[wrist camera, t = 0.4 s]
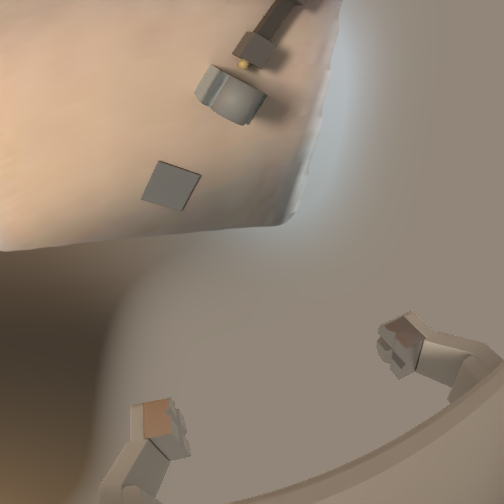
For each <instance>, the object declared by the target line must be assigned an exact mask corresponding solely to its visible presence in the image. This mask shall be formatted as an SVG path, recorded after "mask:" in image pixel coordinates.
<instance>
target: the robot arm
mask: <svg viewBox="0 0 504 504" xmlns="http://www.w3.org/2000/svg"><path fill="white" fill-rule="evenodd" d="M378 333H379V334H380V338H379V339H378V341H377V350H378V353H379V355H380V357H381V358H382V360H383V361H384V362H386V363H389V364H390V370H391V371H392V372H393V373H394V374H395V376H396V377H397V378H398V379H401V378H403V377H405V376H407V375H409V374H411V373H412V372H414V371H416V372H417V373H419V374H421V375H424V376H426V377H429V378H431V379H433V380H435V381H438V382H440V383H442V384H445V385H447V386H449V387H452V389H451V391H450V393H449V395H448V398H447V400H448V401H449V402H450V403H451V404H449V405H448V406H447V407H445V408H444V409H442V410H441V411H439V412H438V413H436V414H435V415H433V416H432V417H430V418H429V419H427V420H426V421H424V422H423V423H421V424H419V425H418V426H416V427H415V428H413V429H411V430H410V431H408V432H406V433H405V434H403V435H401V436H399V437H398V438H396V439H394V440H393V441H390V442H389V443H387V444H385V445H383V446H381V447H379V448H377V449H376V450H373V451H372V452H370V453H368V454H366V455H363V456H361V457H359V458H358V459H355V460H353V461H351V462H349V463H346V464H344V465H342V466H340V467H337V468H335V469H333V470H331V471H328V472H326V473H323V474H321V475H318V476H316V477H313V478H311V479H308V480H305V481H302V482H300V483H297V484H294V485H291V486H288V487H285V488H282V489H279V490H276V491H272V492H269V493H265V494H262V495H259V496H255V497H251V498H248V499H243V500H240V501H235V502H231V503H227V504H504V360H503V359H502V358H501V357H500V356H498V355H497V354H496V353H495V352H494V351H493V350H492V349H491V348H490V347H489V346H488V345H487V344H485V343H482V342H478V341H473V340H470V339H465V338H462V337H458V336H454V335H450V334H447V333H443V332H437V333H436V332H435V331H434V330H432V329H431V328H430V327H429V326H428V325H427V324H426V323H425V322H424V321H423V320H422V319H421V318H419V317H418V316H417V315H416V314H415V313H414V312H412V311H409V312H407V313H405V314H403V315H401V316H399V317H397V318H395V319H393V320H390V321H388V322H386V323H384V324H382V325H380V327H379V329H378ZM130 413H131V414H130V417H131V418H130V426H131V428H130V429H131V442H127V443H126V445H125V447H124V448H123V450H122V451H121V453H120V454H119V456H118V458H117V459H116V461H115V462H114V464H113V466H112V467H111V469H110V470H109V472H108V474H107V475H106V477H105V478H104V480H103V482H102V483H101V485H100V486H99V504H163V503H161V502H160V501H158V500H157V499H155V497H156V495H157V492H158V490H159V488H160V485H161V483H162V481H163V478H164V476H165V473H166V471H167V468H168V466H169V463H170V461H171V460H176V459H181V458H185V457H189V456H191V453H190V448H189V442H188V440H187V439H186V438H185V434H186V433H187V430H186V425H185V421H184V418H183V416H182V414H181V413H180V411H179V409H176V408H175V403H174V401H173V400H172V399H171V398H166V399H161V400H156V401H151V402H145V403H141V404H135V405H132V406H131V410H130Z"/></svg>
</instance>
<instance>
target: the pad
mask: <svg viewBox="0 0 504 504" xmlns="http://www.w3.org/2000/svg"><path fill="white" fill-rule="evenodd" d="M199 177H200V175H199V174H196V173H193V172H190V171H188V170H185V169H182V168H179V167H176V166H173V165H170V164H167V163H164V162H161V161H158V163H157V166H156V168H155V170H154V172H153V174H152V176H151V179H150V181H149V183H148V185H147V187H146V190H145V192H144V194H143V197H142V200H144V201H147V202H151V203H155V204H158V205H162V206H165V207H169V208H172V209H175V210H179V211H181V210H182V208H183V206H184V205H185V203H186V201H187V199H188V197H189V195H190V193H191V191H192V190H193V188H194V186H195V184H196V182H197V180H198V179H199Z"/></svg>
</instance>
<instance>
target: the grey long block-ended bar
mask: <svg viewBox="0 0 504 504" xmlns="http://www.w3.org/2000/svg"><path fill="white" fill-rule="evenodd" d="M306 1H307V0H276V1H275V2H274V3H273V5H272V6H271V7H270V9H269V10H268V11H267V13H266V14H265V16H264V17H263V18H262V20H261V21H260V23H259V24H258V25H257V27H256V28H255V30H254V31H253V32H246V33H245V35H244V36H243V38H242V39H241V41H240V42H239V44H238V45H237V47H236V48H235V50H234V51H233V53H232V54H233V55H235V56H237V57H239V58H241V59H242V60H241V62H240V63H239V65H238V66H239V67H241V68H243V69H244V70H246V69H247V68H248V66H249V65H250V64H251V65H253V66H256V67H258V68H260V69H262V67H263V66H264V64H265V63H266V61H267V60H268V58H269V57H270V55H271V54H272V52H273V51H274V49H275V48H276V47H277V46H276V45H275V44H273V43H272V42H270V41H269V40H270V38H271V37H272V35H273V34H274V33H275V31H276V30H277V28H278V27H279V26H280V24H281V23H282V21H283V20H284V19H285V17H286V16H287V15H288V13H289V12H290V11H291V9H292V8H293V7H294V5H304V4H305V3H306Z"/></svg>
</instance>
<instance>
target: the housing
mask: <svg viewBox="0 0 504 504" xmlns="http://www.w3.org/2000/svg"><path fill="white" fill-rule="evenodd" d="M194 94H195V95H196V96H197V98H198V99H199V100H200V102H201V103H202V104H204V105H207V106H209V107H211V109H212V110H213V111H214V112H216V113H217V114H219V115H221V116H222V117H224V118H226V119H228V120H230V121H232V122H234V123H236V124H239V125H244V124H247V125H249V124H250V122H251V120H252V119H253V117H254V116H255V114H256V113H257V111H258V109H259V108H260V106H261V105H262V103H263V102H264V100H265V99H266V97H267V95H266V94H264V93H263V92H261V91H260V90H258V89H257V88H255V87H253V86H252V85H250V84H248V83H247V84H246V83H244V82H243V81H241V80H239V79H237V78H235V77H233V76H231V75H229V74H227V73H225V72H223V71H222V70H220V69H218V68H217V67H215V66H213V65H210V67H209V68H208V70H207V72H206V73H205V75H204V77H203V78H202V80H201V82H200V84H199V85H198V87H197V89H196V90H195V92H194Z"/></svg>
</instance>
